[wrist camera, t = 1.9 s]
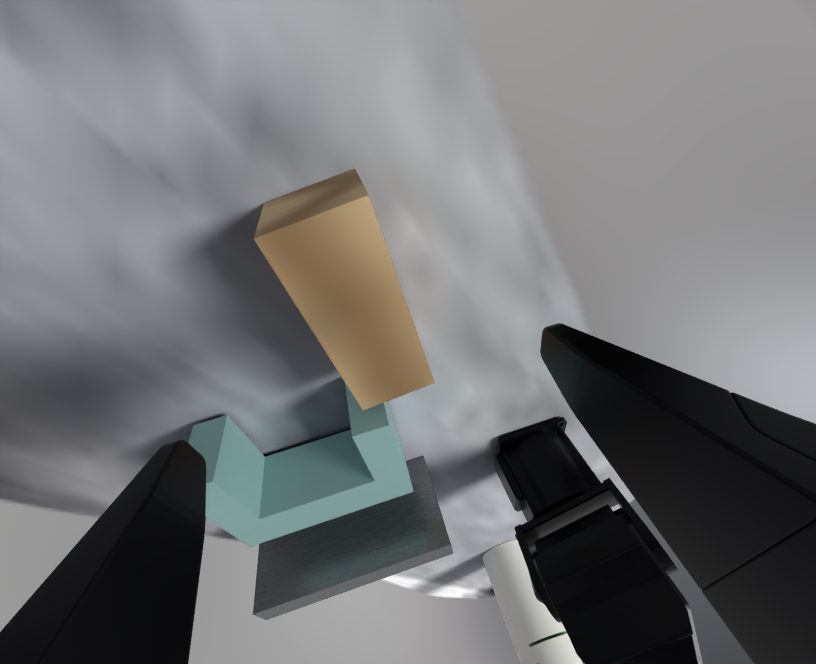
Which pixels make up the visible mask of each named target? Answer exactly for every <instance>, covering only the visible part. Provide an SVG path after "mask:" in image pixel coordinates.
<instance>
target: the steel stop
mask: <svg viewBox="0 0 816 664" xmlns="http://www.w3.org/2000/svg"><path fill="white" fill-rule="evenodd" d="M406 464H407V468H408V472H409V476H410V480H411V483H412V487H413V491H414V492H411V493H408V494H405V495H402V496H399V497H396V498H393V499H390V500H387V501H384V502H381V503H378V504H375V505H372V506H370V507H367V508H364V509H361V510H358V511H355V512H352V513H349V514H346V515H343V516H340V517H337V518H334V519H331V520H328V521H325V522H322V523H319V524H316V525H313V526H310V527H307V528H304V529H301V530H298V531H296V532H293V533H290V534H287V535H284V536H281V537H278V538H275V539H272V540H269V541H266V542H263V543H260V544H259V554H258V565H257V576H256V587H255V599H254V609H253V615H256V616H258V617H260V618H263V619H265V620H268V619H270V618H273V617H276V616H279V615H282V614H284V613H287V612H290V611H293V610H296V609H299V608H301V607H304V606H307V605H310V604H313V603H315V602H318V601H321V600H324V599H327V598H329V597H332V596H335V595H337V594H340V593H343V592H346V591H349V590H352V589H355V588H357V587H360V586H363V585H366V584H369V583H372V582H374V581H377V580H380V579H383V578H386V577H388V576H391V575H394V574H397V573H400V572H402V571H405V570H408V569H411V568H414V567H416V566H419V565H422V564H425V563H428V562H430V561H433V560H436V559H439V558H442V557H445V556H447V555H450V554H453V551H452V547H451V543H450V540H449V537H448V534H447V530H446V527H445V524H444V521H443V518H442V514H441V511H440V508H439V505H438V501H437V498H436V495H435V492H434V489H433V485H432V482H431V479H430V476H429V473H428V469H427V466H426V463H425V460H424V457H423V456H421V457H418V458H415V459H412V460H409V461H406Z"/></svg>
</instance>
